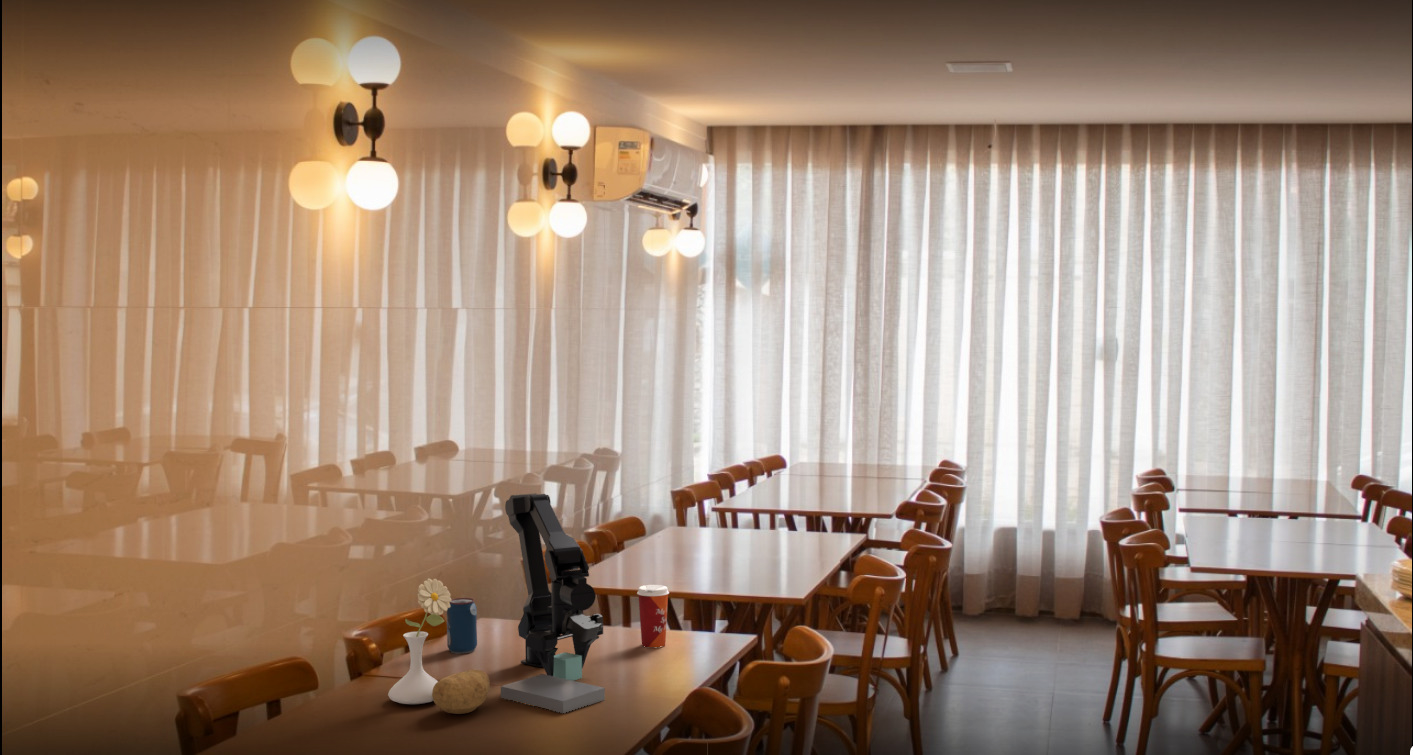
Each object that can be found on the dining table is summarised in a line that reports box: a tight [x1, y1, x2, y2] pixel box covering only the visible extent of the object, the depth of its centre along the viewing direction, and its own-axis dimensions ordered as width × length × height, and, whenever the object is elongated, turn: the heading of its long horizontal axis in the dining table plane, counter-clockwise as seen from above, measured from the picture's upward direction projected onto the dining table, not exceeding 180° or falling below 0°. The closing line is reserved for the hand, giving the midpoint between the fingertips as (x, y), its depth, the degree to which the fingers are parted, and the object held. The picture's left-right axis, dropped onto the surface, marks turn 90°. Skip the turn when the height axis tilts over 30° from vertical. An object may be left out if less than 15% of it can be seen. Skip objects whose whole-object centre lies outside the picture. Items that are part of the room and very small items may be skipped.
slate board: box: [500, 673, 606, 714], centre depth 271 cm, size 18×12×2 cm, turn 52°
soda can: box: [446, 597, 478, 655], centre depth 312 cm, size 7×7×12 cm
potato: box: [432, 668, 491, 715], centre depth 263 cm, size 10×14×8 cm
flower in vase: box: [387, 578, 452, 705], centre depth 270 cm, size 13×11×25 cm
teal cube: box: [553, 651, 583, 681], centre depth 287 cm, size 5×5×5 cm
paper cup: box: [636, 584, 670, 648], centre depth 316 cm, size 8×8×14 cm
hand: (565, 673), depth 287 cm, fingers open, 9 cm apart
